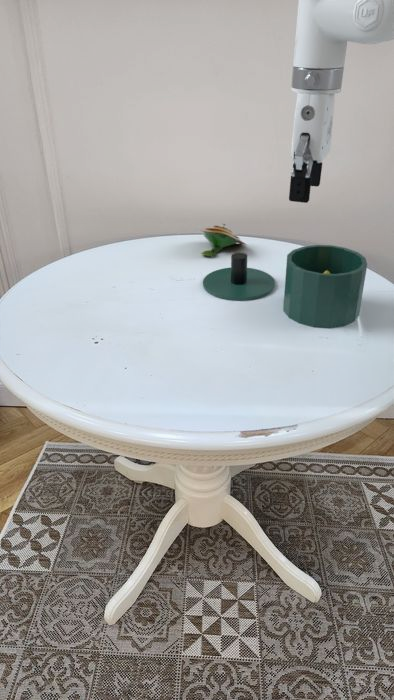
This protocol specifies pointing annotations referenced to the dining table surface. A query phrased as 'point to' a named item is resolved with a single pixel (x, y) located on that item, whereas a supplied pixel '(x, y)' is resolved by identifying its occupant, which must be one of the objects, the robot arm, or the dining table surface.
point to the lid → (238, 281)
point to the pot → (324, 285)
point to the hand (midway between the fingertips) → (304, 193)
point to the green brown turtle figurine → (219, 239)
